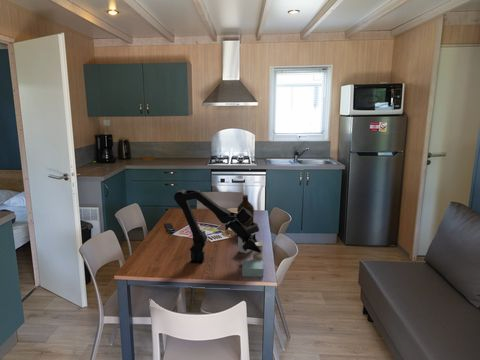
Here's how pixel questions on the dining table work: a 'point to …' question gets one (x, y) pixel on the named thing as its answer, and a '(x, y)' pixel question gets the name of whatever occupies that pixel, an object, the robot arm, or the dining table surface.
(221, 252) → the dining table surface
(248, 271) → the base block
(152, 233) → the dining table surface
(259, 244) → the cream block
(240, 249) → the small box
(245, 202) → the olive oil
